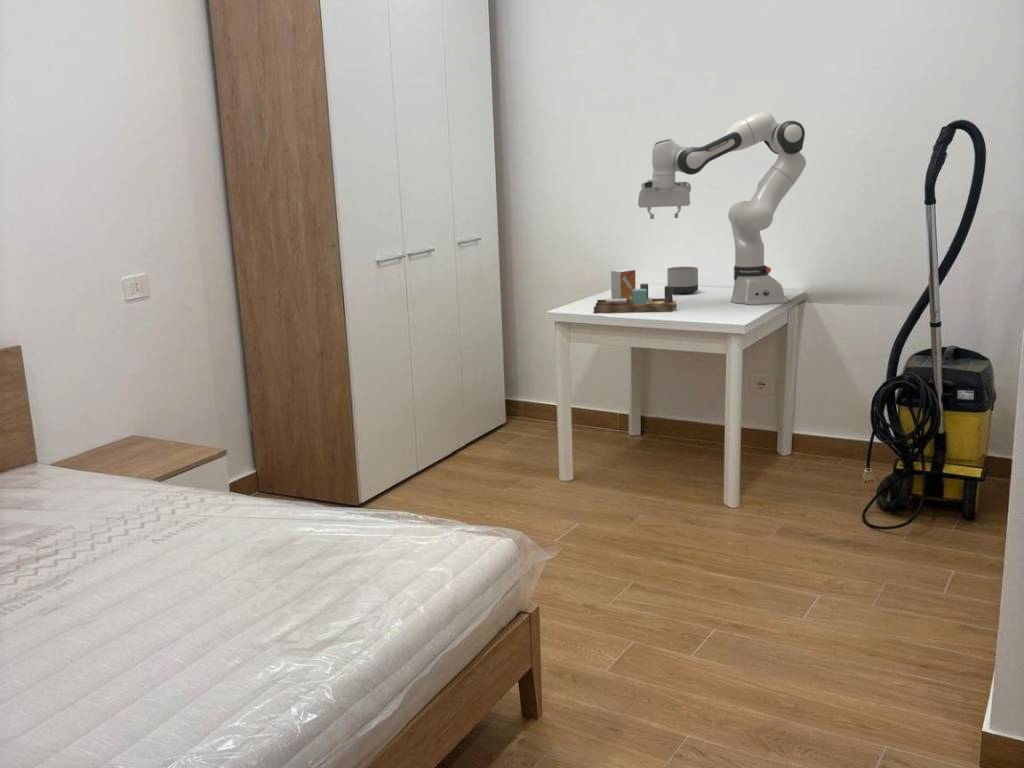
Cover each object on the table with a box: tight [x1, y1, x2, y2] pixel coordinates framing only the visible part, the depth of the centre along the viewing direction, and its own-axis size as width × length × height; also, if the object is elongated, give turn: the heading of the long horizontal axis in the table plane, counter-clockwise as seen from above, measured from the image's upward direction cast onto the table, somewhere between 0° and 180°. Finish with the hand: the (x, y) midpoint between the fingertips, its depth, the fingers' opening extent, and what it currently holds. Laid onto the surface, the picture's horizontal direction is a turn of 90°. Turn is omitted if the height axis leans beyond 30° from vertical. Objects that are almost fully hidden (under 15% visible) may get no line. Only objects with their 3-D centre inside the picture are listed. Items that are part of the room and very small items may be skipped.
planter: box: [666, 266, 699, 295], centre depth 417 cm, size 13×13×10 cm
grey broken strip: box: [605, 283, 653, 303], centre depth 389 cm, size 18×6×8 cm, turn 80°
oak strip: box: [629, 285, 678, 309], centre depth 379 cm, size 18×6×8 cm, turn 80°
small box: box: [610, 268, 637, 299], centre depth 402 cm, size 8×6×13 cm
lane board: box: [593, 297, 673, 314], centre depth 385 cm, size 30×17×2 cm, turn 80°
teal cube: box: [633, 288, 647, 304], centre depth 380 cm, size 5×5×5 cm
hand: (664, 218), depth 386 cm, fingers open, 8 cm apart
